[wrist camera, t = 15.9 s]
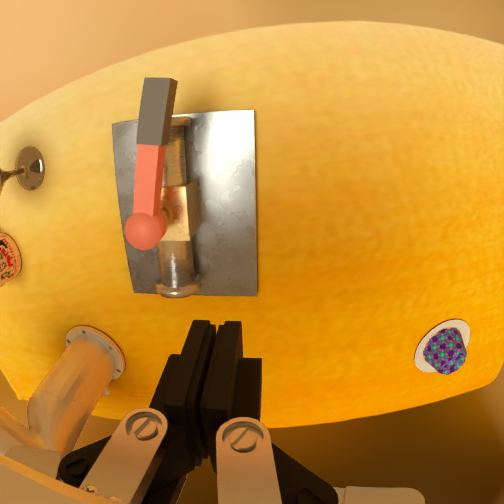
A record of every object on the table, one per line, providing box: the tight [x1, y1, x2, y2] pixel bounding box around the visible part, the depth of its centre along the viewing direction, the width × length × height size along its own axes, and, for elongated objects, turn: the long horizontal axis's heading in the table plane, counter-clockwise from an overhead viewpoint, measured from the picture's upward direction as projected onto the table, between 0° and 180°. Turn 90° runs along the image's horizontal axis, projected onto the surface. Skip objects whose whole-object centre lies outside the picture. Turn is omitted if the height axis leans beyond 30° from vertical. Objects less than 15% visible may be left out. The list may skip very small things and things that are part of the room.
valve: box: [112, 110, 257, 298], centre depth 35 cm, size 24×18×10 cm
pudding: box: [415, 320, 470, 375], centre depth 43 cm, size 12×12×5 cm
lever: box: [124, 78, 178, 250], centre depth 26 cm, size 16×4×2 cm, turn 171°
